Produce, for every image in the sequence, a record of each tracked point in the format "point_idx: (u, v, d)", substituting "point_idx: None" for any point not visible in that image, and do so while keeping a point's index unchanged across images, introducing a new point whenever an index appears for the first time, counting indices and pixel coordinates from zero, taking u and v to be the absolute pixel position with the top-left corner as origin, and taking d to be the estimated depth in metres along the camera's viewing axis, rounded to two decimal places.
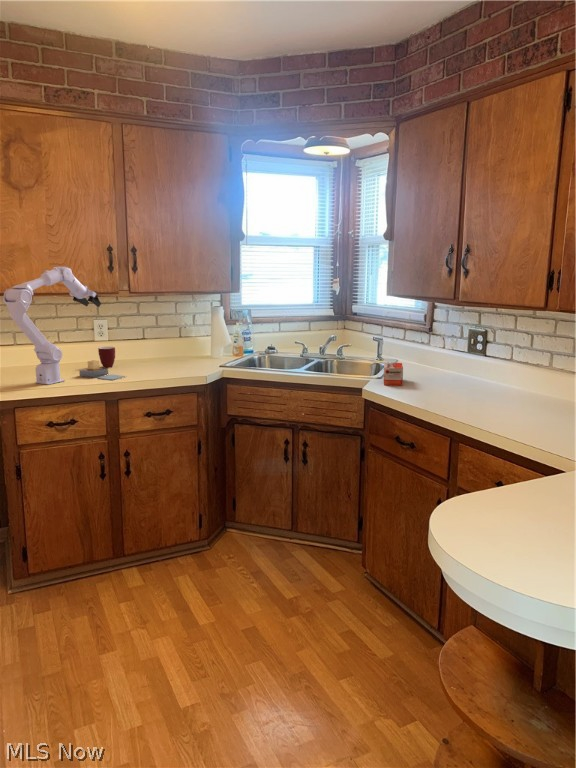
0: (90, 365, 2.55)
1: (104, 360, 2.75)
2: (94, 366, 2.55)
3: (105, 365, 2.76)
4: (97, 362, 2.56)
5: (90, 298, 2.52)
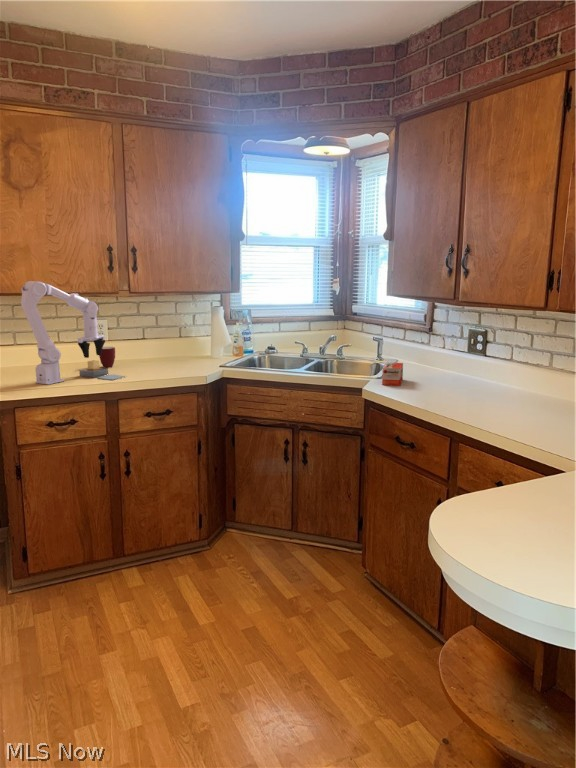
0: (90, 365, 2.55)
1: (104, 360, 2.75)
2: (94, 366, 2.55)
3: (105, 365, 2.76)
4: (97, 362, 2.56)
5: None
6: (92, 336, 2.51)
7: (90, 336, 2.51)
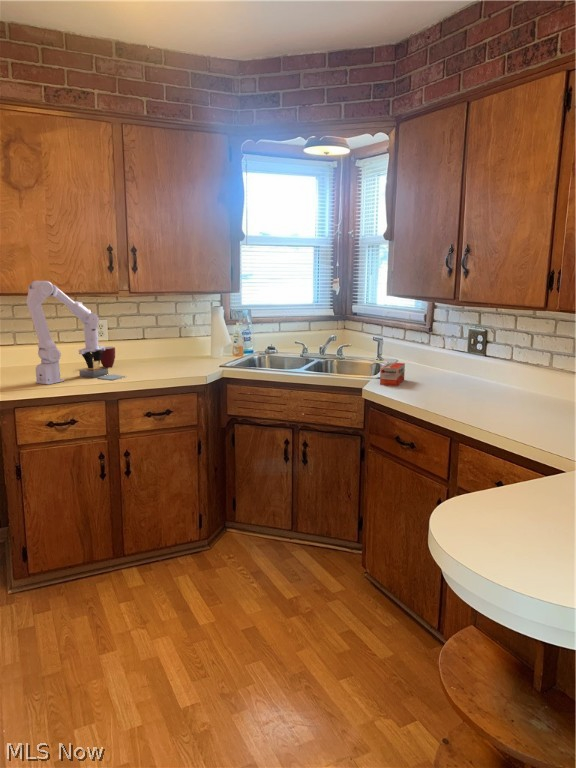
0: None
1: (104, 360, 2.75)
2: (94, 366, 2.55)
3: (105, 365, 2.76)
4: (97, 362, 2.56)
5: (81, 353, 2.51)
6: (93, 347, 2.52)
7: (91, 347, 2.52)
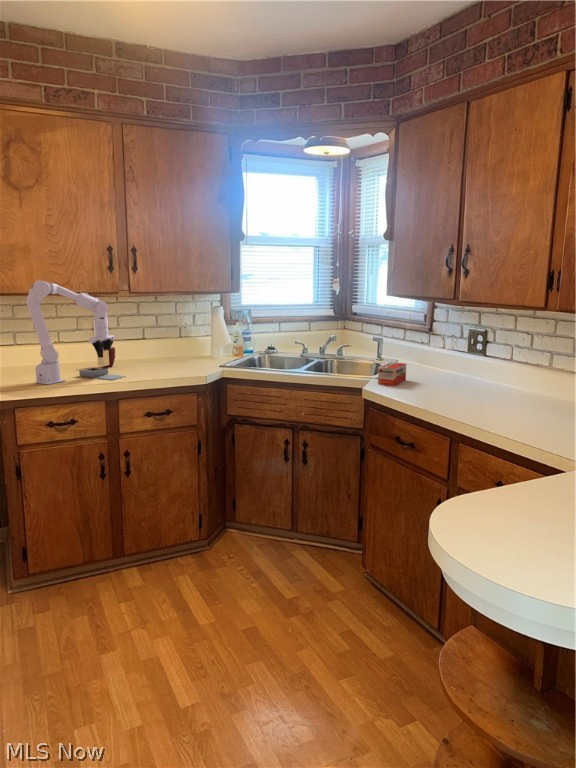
0: None
1: None
2: (104, 355, 2.51)
3: None
4: (107, 351, 2.52)
5: None
6: (103, 336, 2.48)
7: (101, 336, 2.48)
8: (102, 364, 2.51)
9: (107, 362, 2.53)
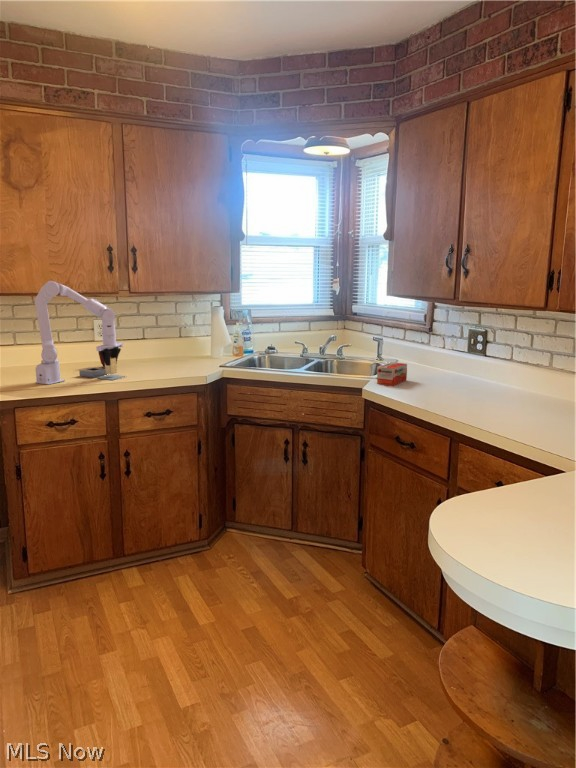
0: None
1: None
2: (111, 363, 2.50)
3: None
4: (114, 359, 2.51)
5: None
6: (111, 344, 2.47)
7: (109, 344, 2.47)
8: (109, 372, 2.50)
9: (114, 370, 2.52)
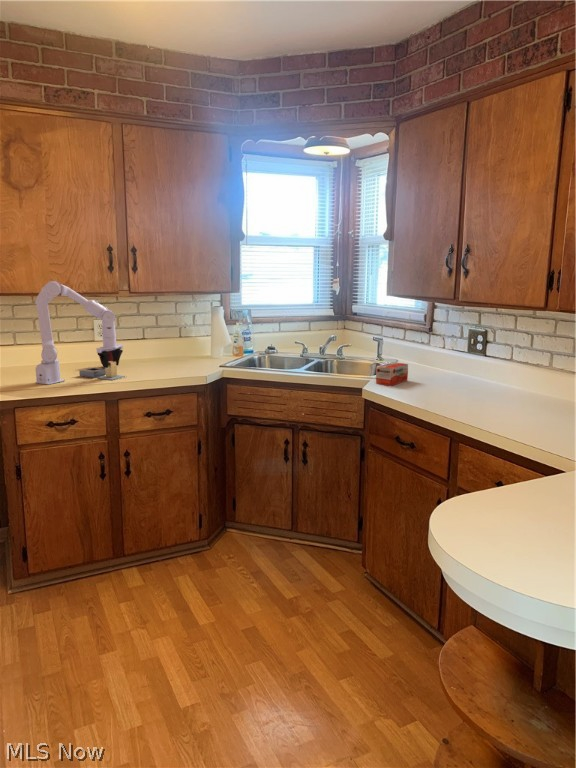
0: (108, 366, 2.50)
1: None
2: (111, 367, 2.50)
3: None
4: (114, 363, 2.51)
5: None
6: (111, 346, 2.47)
7: (109, 346, 2.47)
8: (110, 376, 2.51)
9: (115, 374, 2.52)
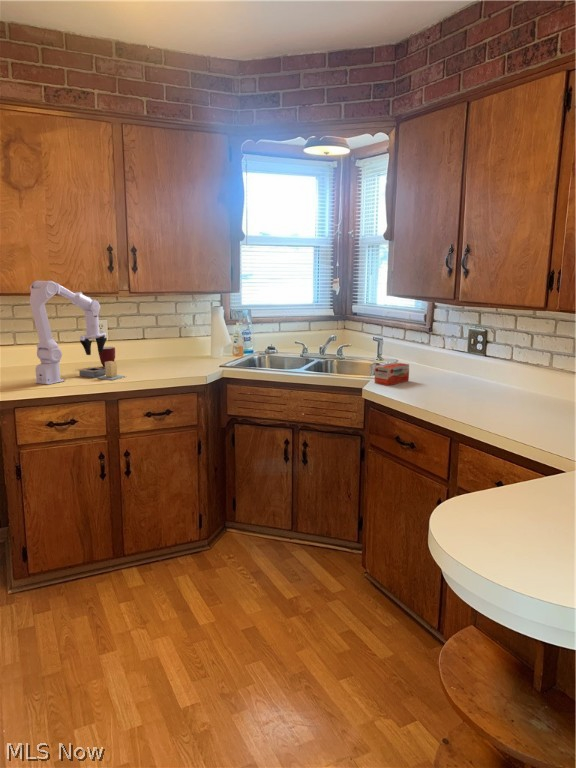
0: (108, 366, 2.50)
1: (104, 360, 2.75)
2: (111, 367, 2.50)
3: None
4: (114, 363, 2.51)
5: None
6: (94, 334, 2.57)
7: (92, 334, 2.57)
8: (110, 376, 2.51)
9: (115, 374, 2.52)
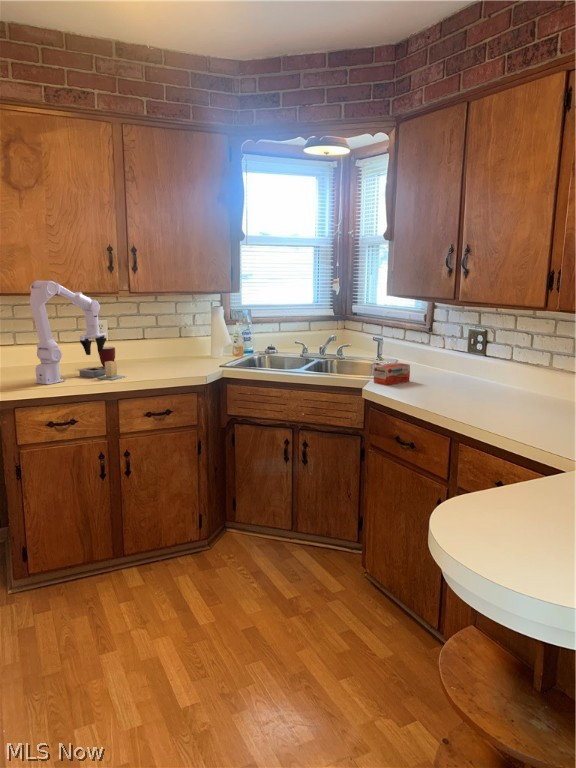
0: (108, 366, 2.50)
1: (104, 360, 2.75)
2: (111, 367, 2.50)
3: None
4: (114, 363, 2.51)
5: None
6: (94, 334, 2.57)
7: (92, 334, 2.57)
8: (110, 376, 2.51)
9: (115, 374, 2.52)
